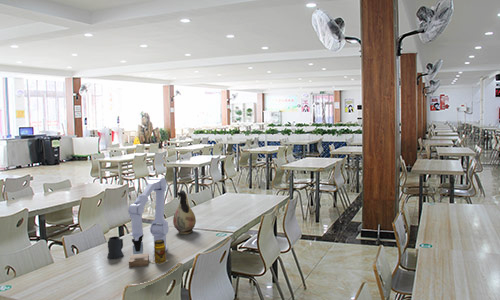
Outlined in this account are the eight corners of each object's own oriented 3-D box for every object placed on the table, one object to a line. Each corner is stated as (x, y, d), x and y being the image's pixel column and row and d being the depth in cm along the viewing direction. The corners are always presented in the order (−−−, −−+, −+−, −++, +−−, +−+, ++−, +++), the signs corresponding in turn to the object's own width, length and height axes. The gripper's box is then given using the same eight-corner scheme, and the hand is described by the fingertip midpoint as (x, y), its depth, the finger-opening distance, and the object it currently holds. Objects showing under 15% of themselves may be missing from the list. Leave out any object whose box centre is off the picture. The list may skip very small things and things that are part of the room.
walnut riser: (130, 260, 231) (130, 255, 231) (149, 258, 233) (148, 253, 233) (129, 267, 222) (128, 261, 221) (148, 265, 223) (147, 259, 223)
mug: (118, 259, 234) (116, 240, 233) (103, 259, 236) (102, 239, 235) (129, 252, 245) (127, 234, 244) (115, 251, 247) (114, 233, 246)
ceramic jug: (171, 231, 287) (169, 189, 284) (192, 227, 293) (190, 186, 290) (177, 237, 271) (175, 193, 269) (199, 234, 278) (197, 190, 275)
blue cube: (134, 251, 229) (133, 242, 228) (143, 250, 230) (142, 241, 229) (133, 254, 224) (132, 245, 223) (142, 253, 225) (142, 244, 224)
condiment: (160, 264, 224) (159, 243, 223) (149, 262, 228) (147, 241, 227) (169, 260, 230) (168, 239, 229) (158, 258, 234) (157, 237, 233)
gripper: (130, 222, 232) (132, 246, 233) (128, 229, 218) (129, 254, 219) (143, 221, 233) (144, 245, 234) (141, 228, 219) (143, 253, 220)
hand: (138, 249), depth 227 cm, fingers closed on blue cube, 5 cm apart
